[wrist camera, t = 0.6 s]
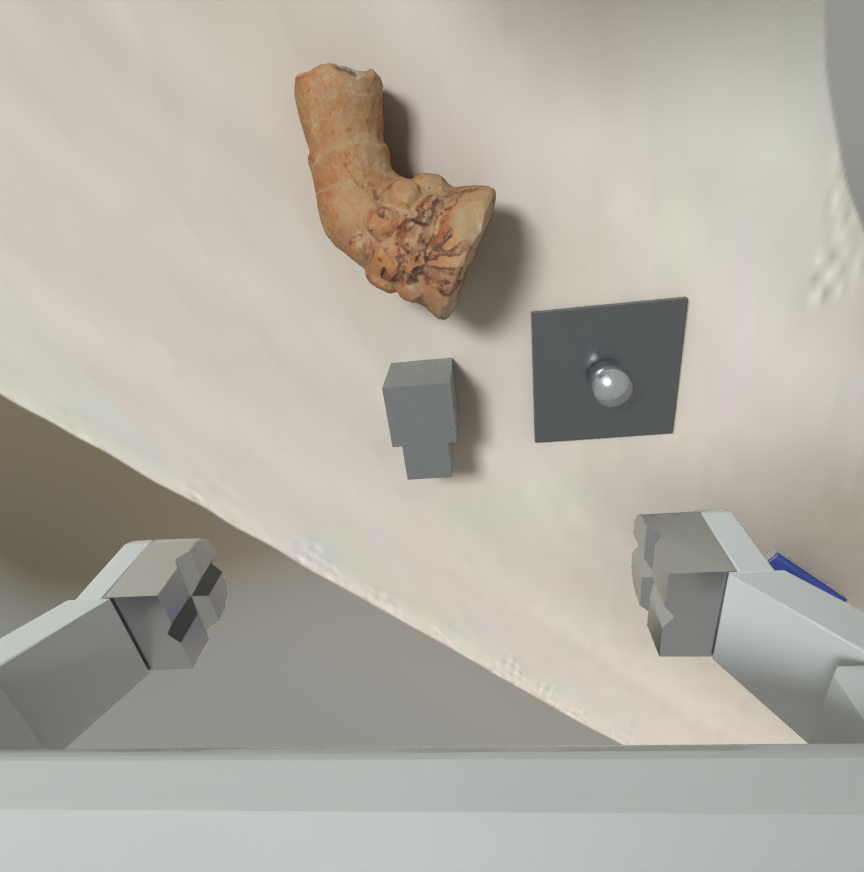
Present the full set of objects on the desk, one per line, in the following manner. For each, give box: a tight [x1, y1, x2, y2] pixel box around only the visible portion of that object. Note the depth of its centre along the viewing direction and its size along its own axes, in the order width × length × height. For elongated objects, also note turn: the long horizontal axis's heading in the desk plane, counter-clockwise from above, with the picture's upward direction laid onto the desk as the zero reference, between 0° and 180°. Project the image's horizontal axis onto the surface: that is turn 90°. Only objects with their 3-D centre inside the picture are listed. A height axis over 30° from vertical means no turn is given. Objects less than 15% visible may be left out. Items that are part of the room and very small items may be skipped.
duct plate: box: [531, 297, 688, 443], centre depth 51 cm, size 14×14×4 cm
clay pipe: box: [295, 63, 496, 320], centre depth 43 cm, size 19×11×15 cm
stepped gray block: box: [382, 358, 458, 480], centre depth 53 cm, size 10×6×6 cm, turn 7°
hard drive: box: [764, 549, 847, 602], centre depth 65 cm, size 2×8×12 cm
